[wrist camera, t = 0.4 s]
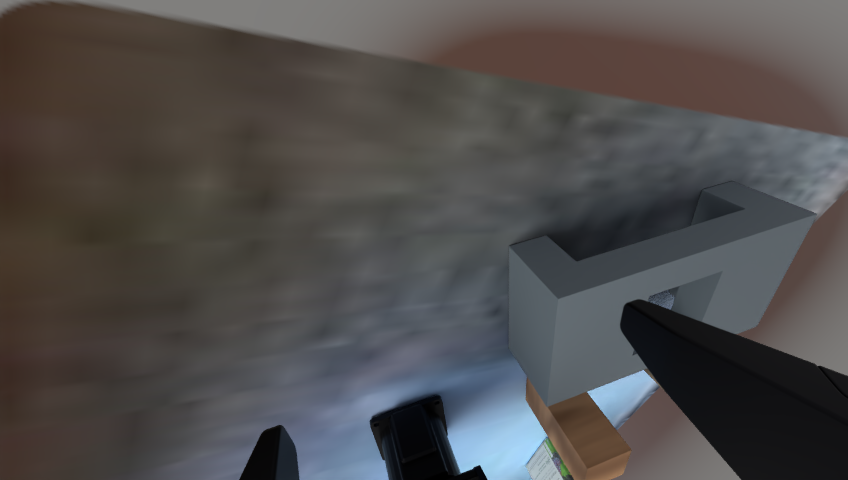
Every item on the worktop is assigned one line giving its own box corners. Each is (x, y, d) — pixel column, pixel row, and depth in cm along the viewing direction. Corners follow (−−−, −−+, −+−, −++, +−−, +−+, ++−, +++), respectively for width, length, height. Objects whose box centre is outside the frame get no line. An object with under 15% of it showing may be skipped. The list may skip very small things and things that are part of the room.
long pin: (560, 386, 39) (622, 474, 31) (525, 399, 38) (581, 492, 31) (563, 362, 37) (631, 450, 29) (526, 375, 36) (587, 469, 29)
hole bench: (694, 283, 36) (757, 326, 31) (508, 347, 33) (546, 407, 28) (732, 180, 30) (817, 213, 25) (508, 246, 27) (558, 299, 22)
